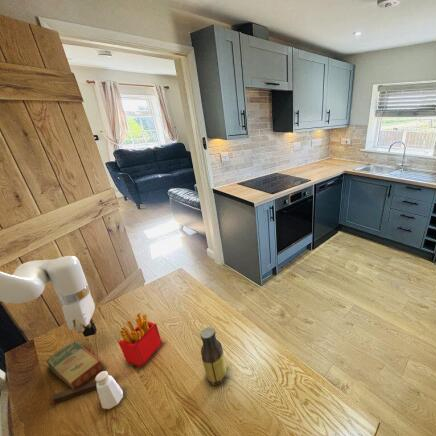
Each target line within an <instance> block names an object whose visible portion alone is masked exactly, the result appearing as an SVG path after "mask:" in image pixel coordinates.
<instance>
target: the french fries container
mask: <svg viewBox="0 0 436 436" xmlns="http://www.w3.org/2000/svg"><path fill="white" fill-rule="evenodd" d="M136 316H137V318H135V323H136V327H135V328H134V325H133V324H132V322H131V320H127V321H126V324H127V326H128V327H129V329H130V330H129V329H127V328H126V326H125V325H123V326H122V327H120V328H121V329H120V331H119V334H120V335H121V337H122V339H120V340H119V341H118V344H119V347H120V349H121V352H122V354H123V357H124V359H125V361H126V362H128V363H127V364H130V365H132V366H136V367H139V368H142V367H143V366H144V365H145V364H146V363H147V362H148V361H149V360H150V358H151V357H152V356H153V355H154V354H155V353H156V352H157V351H158V349H159V348H160V347H161V346H162V345H163V342H162V337H161V334H160V332H159V328H158V324H157V323H155V322H151V321H148V317H147V314H145V313H144V314H143V315H141V312H138V313H136Z"/></svg>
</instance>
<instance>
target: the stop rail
mask: <svg viewBox="0 0 436 436" xmlns="http://www.w3.org/2000/svg"><path fill="white" fill-rule="evenodd" d="M111 376H112V377H113V378H114V376H113V375H111ZM95 390H97V381H96V380H94V381H92V382H89V383H85V384H84V385H82V386H80V387H77V388H74V389H72V388H70V389H68V390H65V391H62V392H59V393H56V394H54V396H53V398H52V401H53V403H54V404H58V403H60V402H64V401H66V400H69V399H72V398H75V397H78V396H81V395H84V394H88V393H90V392H92V391H95Z"/></svg>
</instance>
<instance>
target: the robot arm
mask: <svg viewBox="0 0 436 436" xmlns="http://www.w3.org/2000/svg"><path fill="white" fill-rule="evenodd" d="M48 283H51V284H52V287H53V289H54V291H55V293H56V296H57V298H58V300H59V303H60V304H61V305H62V306H61V309H62V313H63V317H64V320H65V323H66V326H67V328H68V330H69V331H73V330H74V329H75V328H76V331H77V334H81V333H82V334H83V336H84V337H85V338H87V337H90V336H94V335H96V333H97V331H98V329H97V327H96V324H95V322H94V321H95V320H94V316H93V315H94V312H95V309H96V303H95V301H94V299H93V297H92V294H91V289H90V286H89V284H88V281H87V278H86V276H85V273H84V270H83V268H82V264H81V262H80V259H79V258H78V257H76V256H75V255H74V256H73V255H65V256H60V257H57V258H54V259H42V260H38V259H37V260H30V261H27V262H24V263H21V264H20V265H18V266H17V267H16V269H14V271H13V273H12V274H8V273H6V272H4V271H3V272H2V271H0V302H2V303H9V304H27V303H31V302H33V301H35V300H36V299H38V298H39V297H41V295H43V292H44V291H45V288H46V286H47V284H48Z"/></svg>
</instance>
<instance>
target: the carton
mask: <svg viewBox="0 0 436 436" xmlns="http://www.w3.org/2000/svg"><path fill="white" fill-rule="evenodd" d="M45 362H46V364H47V365H48V368H49V369H50V371H52V372H53V373H54V374H55V375H56V376H57V377H58V378H59V379H60V380H61V381H63V382H64V384H66V385H67V386H68V387H69V388H70V389H74V388H77V387H80V386H83V385H86V384H87V382H89V381H90V380H91V379H92V378H94V377H96V376H97V375H98V374H99V373H100V372H102V371H103V370H104V365H103V363H102V361H101V359H99V358H98V357H97V356H95V355H94V354H92V353H91V352H90V351H88V350H87V349H86V348H85V347H84V346H83V345H82V344H80V343H79V342H78V341H76V340H74V341H72V342H71V343H69V344H68V345H66V346H65V347H64V348H62V349H60V350H59V351H58V352H56V353H54V354H53V355H52V356H49V357H48V358H47V359H45Z"/></svg>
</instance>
